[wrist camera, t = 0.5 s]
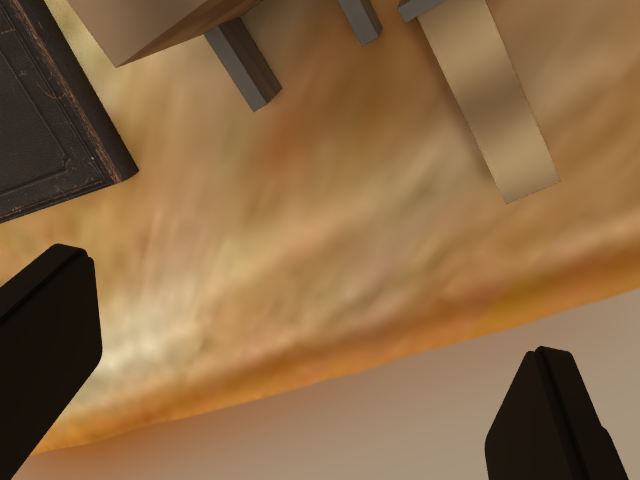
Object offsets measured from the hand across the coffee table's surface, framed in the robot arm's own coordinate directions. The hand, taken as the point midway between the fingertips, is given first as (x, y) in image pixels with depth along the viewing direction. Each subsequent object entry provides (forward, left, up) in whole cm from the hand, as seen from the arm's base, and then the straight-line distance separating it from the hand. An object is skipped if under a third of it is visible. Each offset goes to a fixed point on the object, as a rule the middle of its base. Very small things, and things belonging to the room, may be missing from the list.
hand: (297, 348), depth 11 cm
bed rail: (-6, +3, -25) cm, 26 cm away
